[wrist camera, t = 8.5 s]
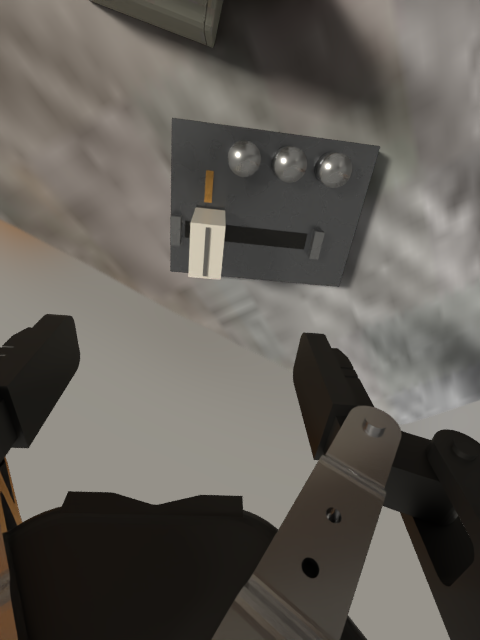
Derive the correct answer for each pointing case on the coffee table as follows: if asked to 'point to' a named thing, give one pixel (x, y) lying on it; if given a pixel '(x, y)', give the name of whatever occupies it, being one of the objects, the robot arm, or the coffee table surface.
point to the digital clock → (175, 16)
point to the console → (269, 199)
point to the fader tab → (206, 243)
